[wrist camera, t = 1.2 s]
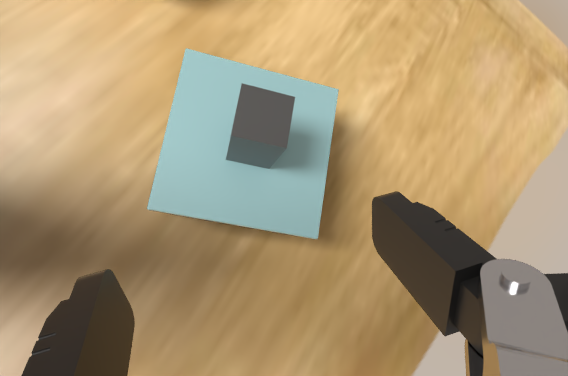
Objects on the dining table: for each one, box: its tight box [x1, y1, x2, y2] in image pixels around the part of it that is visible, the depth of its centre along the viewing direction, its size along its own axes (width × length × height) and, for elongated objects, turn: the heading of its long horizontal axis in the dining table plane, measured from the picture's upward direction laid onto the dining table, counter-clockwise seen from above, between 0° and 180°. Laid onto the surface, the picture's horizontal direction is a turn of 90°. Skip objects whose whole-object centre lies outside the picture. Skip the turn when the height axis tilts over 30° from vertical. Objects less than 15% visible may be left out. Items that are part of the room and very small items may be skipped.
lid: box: [147, 49, 338, 239], centre depth 28 cm, size 15×15×9 cm
